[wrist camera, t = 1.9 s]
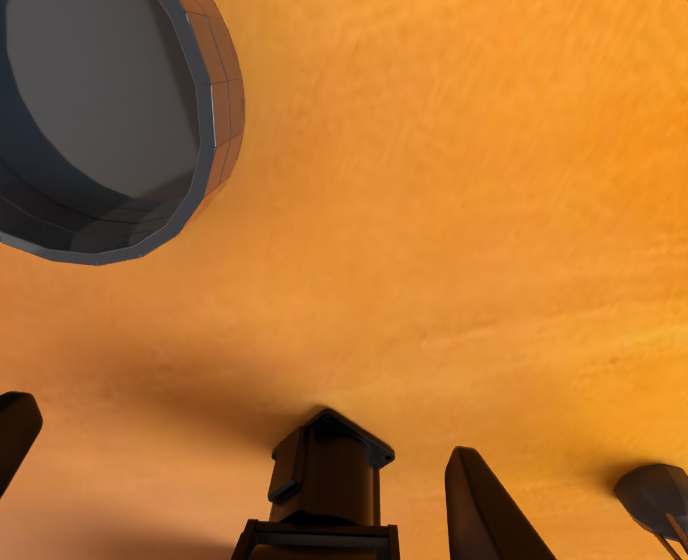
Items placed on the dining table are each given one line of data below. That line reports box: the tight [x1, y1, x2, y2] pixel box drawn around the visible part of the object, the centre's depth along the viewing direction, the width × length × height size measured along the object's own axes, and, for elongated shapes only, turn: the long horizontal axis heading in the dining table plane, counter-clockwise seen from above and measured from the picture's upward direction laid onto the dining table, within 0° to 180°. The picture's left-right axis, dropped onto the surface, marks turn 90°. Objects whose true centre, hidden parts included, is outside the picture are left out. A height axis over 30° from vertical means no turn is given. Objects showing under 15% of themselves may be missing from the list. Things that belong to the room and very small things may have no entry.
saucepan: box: [0, 0, 245, 266], centre depth 16 cm, size 13×13×4 cm
